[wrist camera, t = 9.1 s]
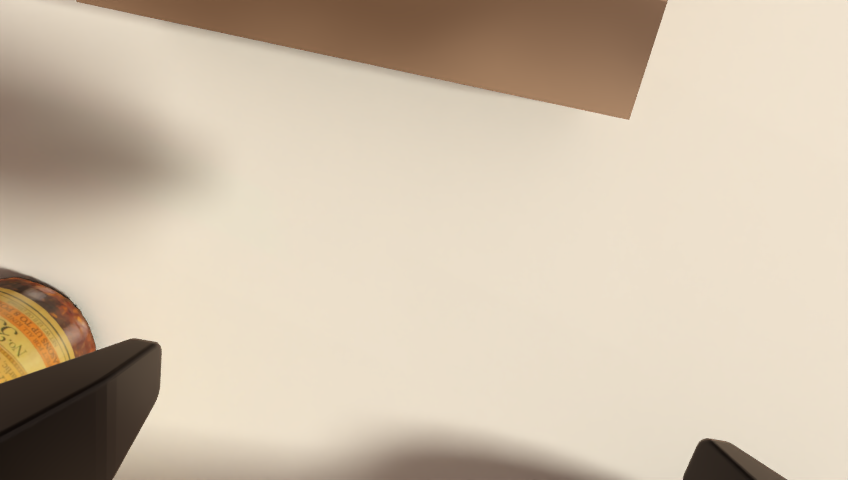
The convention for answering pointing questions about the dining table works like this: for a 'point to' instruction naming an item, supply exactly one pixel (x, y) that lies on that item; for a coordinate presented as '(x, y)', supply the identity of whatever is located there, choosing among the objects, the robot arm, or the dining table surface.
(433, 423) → the dining table surface
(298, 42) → the well board
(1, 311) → the sauce bottle
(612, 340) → the dining table surface
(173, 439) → the dining table surface
